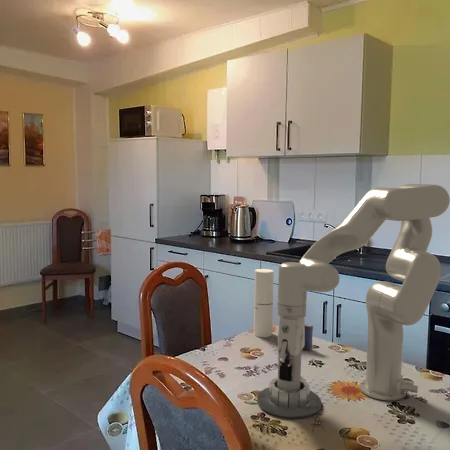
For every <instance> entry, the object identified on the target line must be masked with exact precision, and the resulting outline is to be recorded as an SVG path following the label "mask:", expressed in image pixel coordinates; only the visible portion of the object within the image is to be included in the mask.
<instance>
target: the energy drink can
mask: <svg viewBox="0 0 450 450" xmlns="http://www.w3.org/2000/svg"><path fill="white" fill-rule="evenodd" d="M300 343H301V342H300ZM301 349H302V343H301V344H300V352H299V354H298V355H297V356H295V357H294V356H293V355H292V361H291V366H292V380H291V381H285V380H280V379H279V373H280V359H279V355H280V354H279V353H277V354H278V355H277V356H278V357H277V360H278V362H277V378H278V384H277V387H278V388H279V389H281V390H285V391H298V390H299V389H300V379H301V376H302V375H301V372H302V371H301V369H302V350H301ZM286 354H290V353H289V351H287V352H286ZM286 358H287V359H288V360H289V356H286Z"/></svg>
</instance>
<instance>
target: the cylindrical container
mask: <svg viewBox="0 0 450 450" xmlns="http://www.w3.org/2000/svg"><path fill="white" fill-rule="evenodd" d="M274 273H275V271H274V270H273V269H269V268H259V269H258V268H256V269H254V290H253V291H254V294H253V295H254V296H253V298H254V300H253V336H255V337H257V338H269V337H271V336H273V316H274V315H273V310H274V309H273V308H274V307H273V304H274V303H273V302H274V276H275V275H274Z"/></svg>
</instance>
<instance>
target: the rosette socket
mask: <svg viewBox="0 0 450 450" xmlns="http://www.w3.org/2000/svg"><path fill="white" fill-rule="evenodd" d="M277 384H278V377H276V378H275V377H274V378H273V379H271V380H270V382H269V387H265V388H263V389H262V390H261V391H260V392H258V394H257V397H256V399H257V401H256V402H257V403H256V404H257V406H258V407H259V409H260V410H262V411H263V412H265V413H266V414H268V415H270V416H272V417H277V418H280V419H286V420H301V419H306V418H307V419H308V418H310V417H313V416H315V415H317V414H318V413H320V411H321V409H322V399H321V398H320V396H319V395H318V394H316V393H315V392H314V391H312V390H310V388H311V387H310V386H311V385H310V384H309V383H308V382H307V381H306V380H304V379H302V378H300V389H299V390H298V391H285V390H281V389H279V388H278V387H277Z"/></svg>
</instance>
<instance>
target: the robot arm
mask: <svg viewBox="0 0 450 450" xmlns="http://www.w3.org/2000/svg"><path fill="white" fill-rule="evenodd" d="M449 205H450V194H449V193H448V190H447V189H445V187H443V186H441V185H438V184H426V183H425V184H423V183H422V184H421V183H420V184H419V183H407V184H403V185H400V186H399V187H373V188H371V189H370V190H368V191H367V192H366V193H365V195H364V196H362V198H361V199H360V200H359V201H358V203H357V204H356V205H355V206H354V208H352V210H351V211H350V212H349V213H348V215H347V216H346V217H345V218H344V219H343V221H342V222H341V223H340V224H339V225H338V226H337V227H335V228H334V229H332V230H330V231H329V232H328V233H326V234H325V235H323V236H322V237H321V238H320V239H317V240H316V241H315V242H314V243H313V244H312V245H311V246H310V248H308V250H307V251H306V252H305V253H304V254H303V256H302V257H301V259H300V260H299V261H298V262H293V261H290V262H289V261H288V262H283V263H281V264H280V265H279V267H278V279H277V280H278V281H277V282H278V284H277V309H276V310H277V313H276V315H277V316H278V317H279V321H278V332H277V333H278V334H277V354H280V355H279V359H280V373H279V379H280V380H285V381H291V380H292V366H291V361H292V355H293V356H294V357H295V356H297V355H298V354H299V352H300V344H301V343H302V349H303V348H304V345H305V324H306V323H305V318H306V317H307V316H306V315H307V297H308V296H307V295H308V291H310V292H317V293H328V292H331V291H333V290H334V289H336V288H337V287H338V285H339V284H340V278H341V277H340V273H339V271H338V270H337V269H336V267H334V266H333V265H331V264H330V262H332V261H333V260H334V259H336V257H338V256H340V255H341V254H344V253H347V252H350V251H351V252H352V251H354V250H358V249H360V248H363V247H364V246H366V245H367V243H368V242H369V241H370V240H371V238H372V237H373V236H374V235H375V234H376V232H377V231H378V230H379V229H380V227H381V226H382V225H383V224H384V223H385V221H386V220H387V221H395V222H400V223H401V225H400V229H399V232H398V235H397V238H396V240H395V242H394V244H393V246H392V249H391V251H390V253H389V255H388V257H387V260H386V263H385V271H386V273H387V274H388V276H390V277H391V278H392V279H395V280H397V281H400V282H402V285H399V284H397V283H394V282H391V281H386V280H383V281H382V280H381V281H377V282H374V283H372V284H371V286H370V287H368V289H367V292H366V295H365V304H366V305H365V307H366V312H367V345H366V346H367V347H366V363H365V364H366V366H365V368H366V369H365V371H366V372H365V379H364V380H361V382H359V390H360V391H361V392H362V393H363V394H364V395H366V396H368V397H370V398H373V399H376V400H380V401H381V400H382V401H388V402H389V401H391V402H393V401H399V400H402V399H404V398H405V397H406V396H407V392H410V393H416V394H418V391H419V390H418V388H419V387H418V386H419V385H415V384H414V382H412V381H406V380H405V379H404V375H402V366H403V347H404V345H403V344H404V326H409V327H410V326H413V325H415V324H417V323H418V322H419V321H421V319H422V318H423V316H424V315H425V312H426V311H427V309H428V307H429V305H430V303H431V300H432V298H433V296H434V293H435V292H436V289H437V287H438V285H439V282H440V279H441V275H442V268H441V267H442V266H441V263H440V261H439V259H438V258H437V256H436V255H434V254H432V253H431V252H427V251H428V248H429V245H430V244H431V243H430V242H431V240H432V238H433V237H432V236H433V227H432V222H431V218H436V217H440V216H441V215H443V214H444V213H445V212H446V211H447V210H448V208H449ZM300 342H301V343H300ZM302 349H301V351H303V350H302ZM287 351H289V353H290V354H286V352H287ZM286 356H289V360H288V359H287V358H286Z"/></svg>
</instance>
